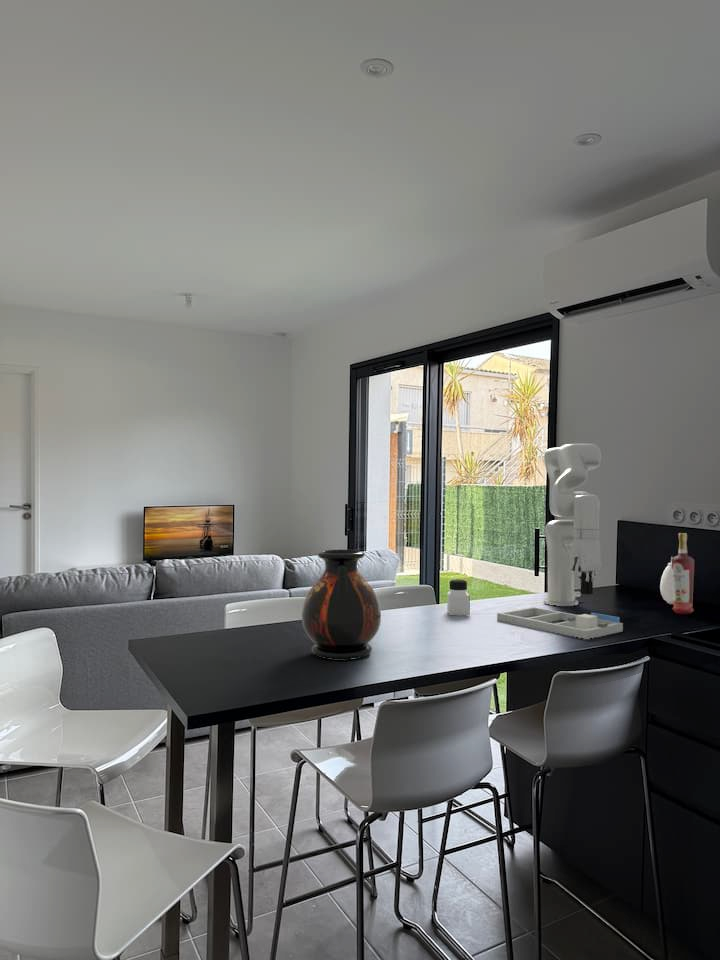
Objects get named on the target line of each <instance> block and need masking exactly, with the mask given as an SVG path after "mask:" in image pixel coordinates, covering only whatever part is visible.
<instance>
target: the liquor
mask: <svg viewBox="0 0 720 960" xmlns="http://www.w3.org/2000/svg"><path fill="white" fill-rule="evenodd" d="M687 540H688V534H687V533H686V532H678V541H679V542H678V543H679V544H678V553H677V555H676V556H672V559H671V558H670V561H671V560H672V579H673V599H674V604H673V607H672V610H673V611H674V613H675V614H677V615H685V616H686V615H690V614H692V613H693V612H694V611H695V609H694V608H693V599H694V597H693V596H694V595H693V593H694V576H695V559H694V558H693V557H692V556H689V555H688V546H687Z"/></svg>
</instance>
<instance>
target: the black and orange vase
mask: <svg viewBox="0 0 720 960" xmlns="http://www.w3.org/2000/svg"><path fill="white" fill-rule="evenodd" d="M365 555H366V553H365V552H364V551H362V550H358V549H328V550H321V551H319V552H318V553H317V557H318V558H319V559H322V560H323V561H324V566H325V568H324V571H323V573H322V575H321V576H320V577H319V578H318V580H317V581H316V582H315V583H314V584H313V586H312V587H311V588H310V589H309V591H308V592H307V595H306V597H305V600H304V603H303V605H302V613H301V623H302V626H303V630H304V631H305V633H306V634H307V636H308V638H309V639H310V641H312V643H314V644H313V645H312V647H311V653H312V654H313V655H314V654H315V655H318V656H321V657H325V658H332V659H351V658H359V657H363V658H365V657H364V656H366V657H367V656H369V655H370V654H371V653H372V649H373V648H372V645H371V644H370V642H371V641H372V640H373V639H374V638H375V636H376V635H377V633H378V631H379V629H380V626H381V621H382V619H381V618H382V616H381V615H382V612H381V607H380V606H381V605H380V602H379V600H378V597H377V594H376V592H375V590H374V589H373V587H372V586H371V585H370V584H369V583H368V582H367V581H366V579H365V578H364V576H362V575H361V573H360V572H359V570H358V563H359V560H360V559H362V558H364V557H365ZM315 655H314V656H315Z"/></svg>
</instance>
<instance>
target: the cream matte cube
mask: <svg viewBox="0 0 720 960" xmlns="http://www.w3.org/2000/svg"><path fill="white" fill-rule="evenodd" d="M576 615H577V616H576V628H578V629H583V630H586V629H591V628H595V627H597V616H594V615H591V614H587V613H583V614H576Z"/></svg>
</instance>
